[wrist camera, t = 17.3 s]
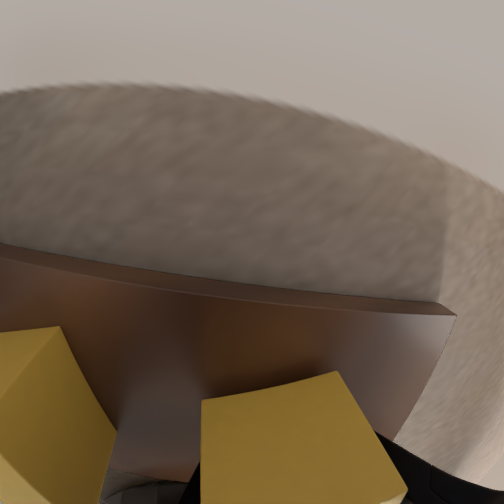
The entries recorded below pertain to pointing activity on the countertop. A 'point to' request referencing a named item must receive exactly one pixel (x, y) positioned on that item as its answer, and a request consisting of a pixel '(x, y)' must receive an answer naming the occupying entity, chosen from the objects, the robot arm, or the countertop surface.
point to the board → (214, 347)
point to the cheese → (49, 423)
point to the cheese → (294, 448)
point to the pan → (150, 494)
